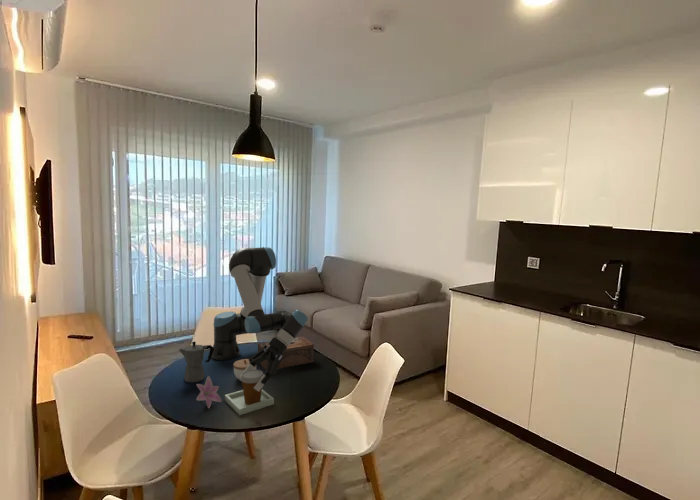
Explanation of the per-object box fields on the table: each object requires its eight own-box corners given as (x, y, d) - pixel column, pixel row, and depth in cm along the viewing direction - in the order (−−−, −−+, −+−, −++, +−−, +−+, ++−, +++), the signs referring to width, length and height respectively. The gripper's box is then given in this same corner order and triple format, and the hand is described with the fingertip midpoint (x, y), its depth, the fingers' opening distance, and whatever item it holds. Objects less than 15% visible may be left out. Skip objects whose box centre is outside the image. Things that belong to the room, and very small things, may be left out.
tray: (224, 400, 165) (224, 395, 165) (257, 391, 175) (257, 385, 175) (239, 415, 154) (239, 409, 154) (273, 404, 163) (273, 398, 163)
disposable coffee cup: (249, 409, 156) (249, 380, 155) (236, 401, 162) (235, 374, 161) (269, 401, 163) (269, 373, 162) (255, 394, 170) (255, 367, 168)
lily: (191, 415, 156) (201, 396, 154) (184, 393, 164) (194, 375, 162) (219, 414, 164) (229, 396, 162) (211, 393, 172) (221, 376, 170)
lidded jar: (228, 380, 185) (228, 361, 184) (244, 372, 195) (244, 354, 194) (246, 385, 180) (245, 365, 179) (261, 377, 190) (261, 358, 189)
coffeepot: (178, 384, 180) (177, 346, 178) (180, 376, 189) (179, 339, 187) (214, 380, 185) (213, 343, 183) (214, 372, 194) (213, 336, 192)
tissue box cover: (302, 353, 222) (302, 336, 221) (313, 362, 210) (313, 344, 209) (257, 361, 209) (257, 343, 208) (266, 371, 197) (266, 352, 196)
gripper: (301, 354, 163) (268, 399, 155) (273, 338, 183) (242, 378, 175) (290, 345, 159) (256, 390, 152) (262, 329, 179) (231, 369, 171)
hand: (248, 384), depth 163 cm, fingers open, 13 cm apart
